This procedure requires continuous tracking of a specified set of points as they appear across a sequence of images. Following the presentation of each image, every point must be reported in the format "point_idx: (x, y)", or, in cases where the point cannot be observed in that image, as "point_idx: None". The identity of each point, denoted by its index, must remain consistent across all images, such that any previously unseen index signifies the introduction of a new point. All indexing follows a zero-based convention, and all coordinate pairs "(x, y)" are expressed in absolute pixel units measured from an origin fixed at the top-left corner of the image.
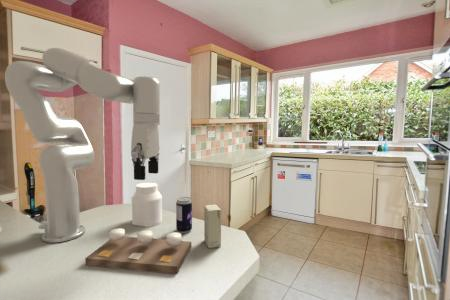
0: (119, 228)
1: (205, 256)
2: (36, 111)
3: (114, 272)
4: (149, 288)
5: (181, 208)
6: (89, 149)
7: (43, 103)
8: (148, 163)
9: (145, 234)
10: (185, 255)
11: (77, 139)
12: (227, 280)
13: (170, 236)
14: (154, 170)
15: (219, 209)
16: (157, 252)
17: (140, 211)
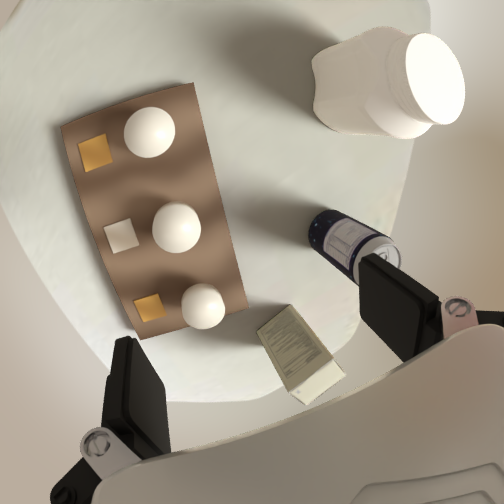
0: (171, 120)
1: (222, 341)
2: None
3: (76, 215)
4: (82, 313)
5: (344, 265)
6: None
7: None
8: (407, 297)
9: (171, 236)
10: None
11: None
12: (172, 396)
13: (194, 307)
14: (370, 311)
15: (306, 403)
16: (163, 270)
17: (340, 79)
